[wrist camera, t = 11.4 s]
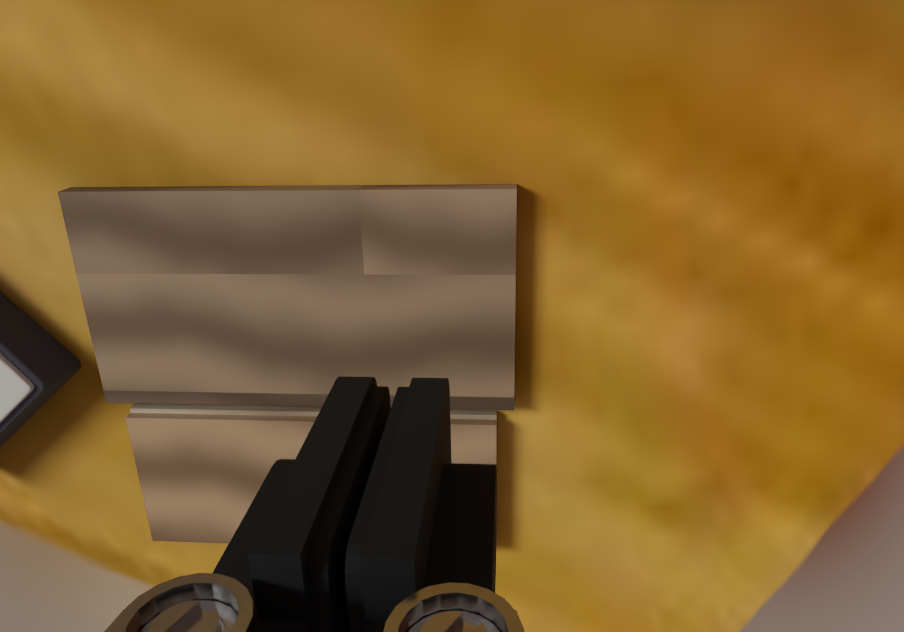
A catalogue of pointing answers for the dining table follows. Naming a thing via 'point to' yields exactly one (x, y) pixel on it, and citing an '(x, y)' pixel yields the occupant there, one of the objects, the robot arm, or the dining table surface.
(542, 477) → the dining table surface
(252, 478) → the plank
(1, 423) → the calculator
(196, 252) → the laid row
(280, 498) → the robot arm
